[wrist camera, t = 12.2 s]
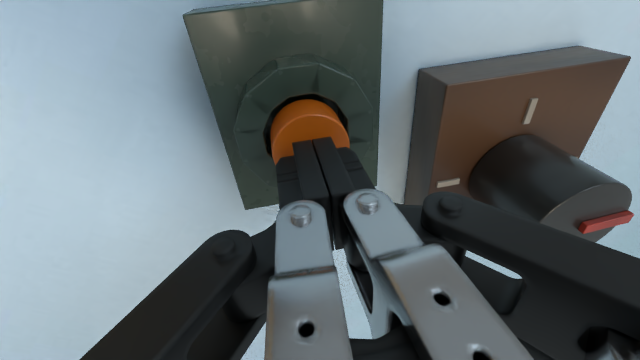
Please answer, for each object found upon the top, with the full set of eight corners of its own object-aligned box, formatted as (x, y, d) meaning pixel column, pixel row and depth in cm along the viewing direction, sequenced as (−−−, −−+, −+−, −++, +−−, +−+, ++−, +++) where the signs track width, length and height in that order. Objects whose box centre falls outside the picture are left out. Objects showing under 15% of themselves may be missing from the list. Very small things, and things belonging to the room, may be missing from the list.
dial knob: (463, 210, 19) (520, 275, 15) (475, 145, 16) (551, 203, 12) (533, 193, 19) (609, 252, 15) (559, 125, 16) (662, 175, 12)
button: (263, 104, 12) (264, 121, 11) (338, 93, 12) (349, 108, 11) (277, 168, 14) (279, 189, 12) (341, 157, 14) (351, 177, 13)
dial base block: (418, 68, 16) (449, 85, 13) (579, 45, 17) (636, 57, 14) (401, 222, 23) (419, 253, 20) (515, 200, 24) (546, 226, 21)
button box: (192, 9, 13) (170, 20, 9) (367, -11, 13) (402, -8, 10) (246, 188, 19) (244, 232, 15) (366, 167, 19) (387, 205, 16)
